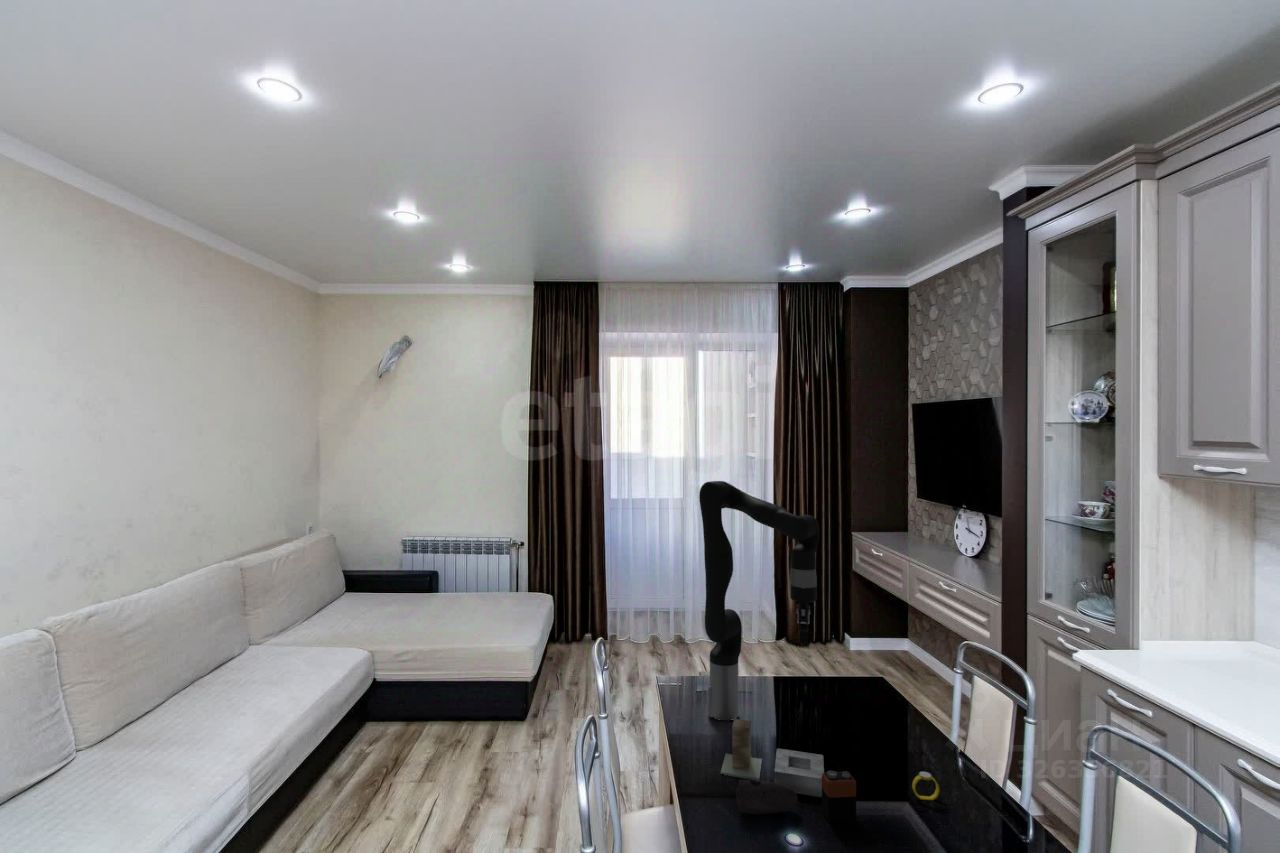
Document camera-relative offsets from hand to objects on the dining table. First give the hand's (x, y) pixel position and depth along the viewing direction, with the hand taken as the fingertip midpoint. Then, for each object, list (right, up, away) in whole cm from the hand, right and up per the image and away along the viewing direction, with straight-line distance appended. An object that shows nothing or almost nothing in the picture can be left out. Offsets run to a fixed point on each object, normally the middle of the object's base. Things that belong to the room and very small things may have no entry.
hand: (803, 639), depth 171 cm
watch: (+22, -29, -28) cm, 46 cm away
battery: (-2, -29, -35) cm, 45 cm away
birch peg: (-21, -29, -14) cm, 38 cm away
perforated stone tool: (-18, -29, -33) cm, 48 cm away
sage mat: (-21, -29, -14) cm, 39 cm away
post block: (-7, -29, -20) cm, 36 cm away
